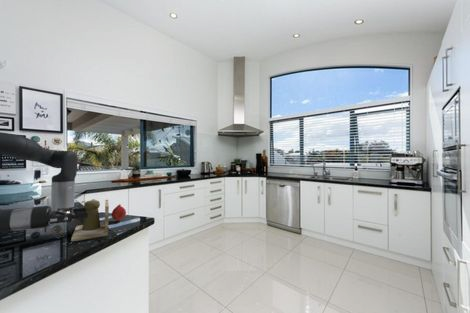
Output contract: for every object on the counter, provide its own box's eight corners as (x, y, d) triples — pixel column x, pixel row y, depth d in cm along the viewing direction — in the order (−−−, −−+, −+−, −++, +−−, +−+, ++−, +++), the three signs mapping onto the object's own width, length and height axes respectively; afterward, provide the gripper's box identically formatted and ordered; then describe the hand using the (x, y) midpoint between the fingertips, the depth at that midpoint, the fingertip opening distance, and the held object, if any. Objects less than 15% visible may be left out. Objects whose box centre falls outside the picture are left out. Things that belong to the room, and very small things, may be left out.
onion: (110, 224, 91) (110, 206, 91) (112, 220, 96) (112, 203, 96) (125, 222, 93) (125, 205, 93) (126, 219, 98) (126, 202, 99)
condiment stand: (76, 228, 84) (77, 202, 85) (107, 224, 90) (108, 199, 91) (71, 241, 71) (72, 210, 71) (107, 235, 77) (108, 206, 77)
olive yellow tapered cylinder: (90, 231, 78) (91, 202, 78) (78, 229, 79) (79, 201, 79) (104, 226, 84) (104, 199, 84) (91, 225, 85) (92, 198, 85)
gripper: (25, 211, 66) (87, 206, 74) (37, 203, 78) (89, 199, 86) (25, 235, 65) (86, 226, 74) (37, 223, 77) (89, 217, 86)
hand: (88, 212), depth 80 cm, fingers open, 8 cm apart
